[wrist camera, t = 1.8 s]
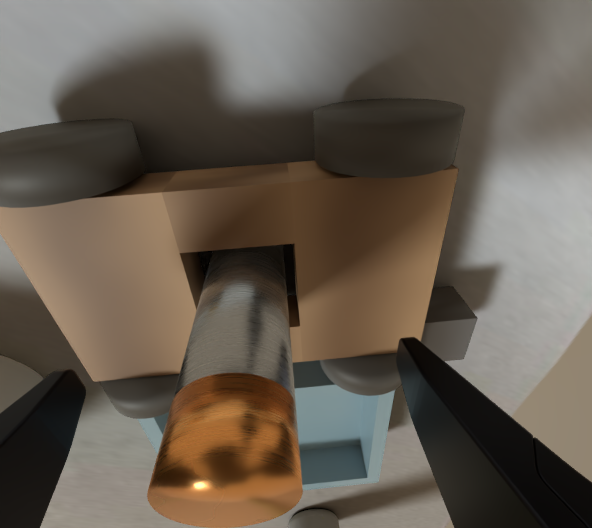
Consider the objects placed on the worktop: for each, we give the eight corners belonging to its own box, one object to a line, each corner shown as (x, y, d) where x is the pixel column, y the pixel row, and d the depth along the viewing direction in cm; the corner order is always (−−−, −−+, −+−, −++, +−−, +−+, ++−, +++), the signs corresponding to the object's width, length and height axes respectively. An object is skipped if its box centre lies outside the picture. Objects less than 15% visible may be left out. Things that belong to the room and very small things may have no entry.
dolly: (504, 89, 12) (609, 107, 8) (442, 325, 19) (485, 393, 15) (22, 124, 11) (-92, 160, 8) (134, 354, 18) (100, 432, 14)
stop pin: (280, 211, 14) (298, 450, 6) (285, 269, 16) (305, 519, 7) (209, 217, 14) (124, 468, 6) (222, 274, 16) (171, 534, 7)
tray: (379, 334, 19) (397, 378, 16) (367, 438, 25) (378, 482, 22) (148, 355, 18) (129, 404, 16) (193, 456, 24) (185, 503, 22)
